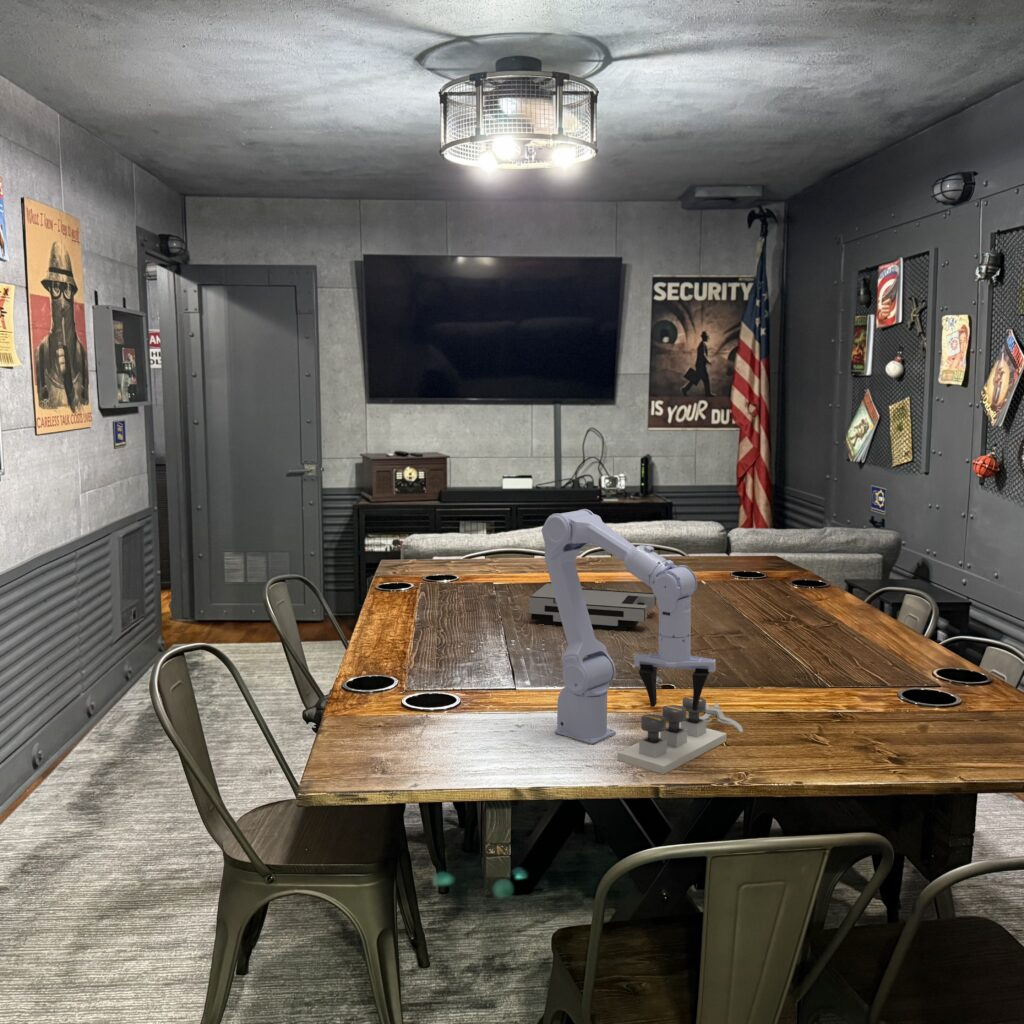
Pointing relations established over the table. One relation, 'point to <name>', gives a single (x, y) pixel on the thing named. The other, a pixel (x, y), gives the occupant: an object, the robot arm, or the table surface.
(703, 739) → the knob mount
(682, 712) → the knob middle
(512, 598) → the table surface
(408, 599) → the table surface
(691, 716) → the knob far
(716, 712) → the pliers
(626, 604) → the game console
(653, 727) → the knob near
